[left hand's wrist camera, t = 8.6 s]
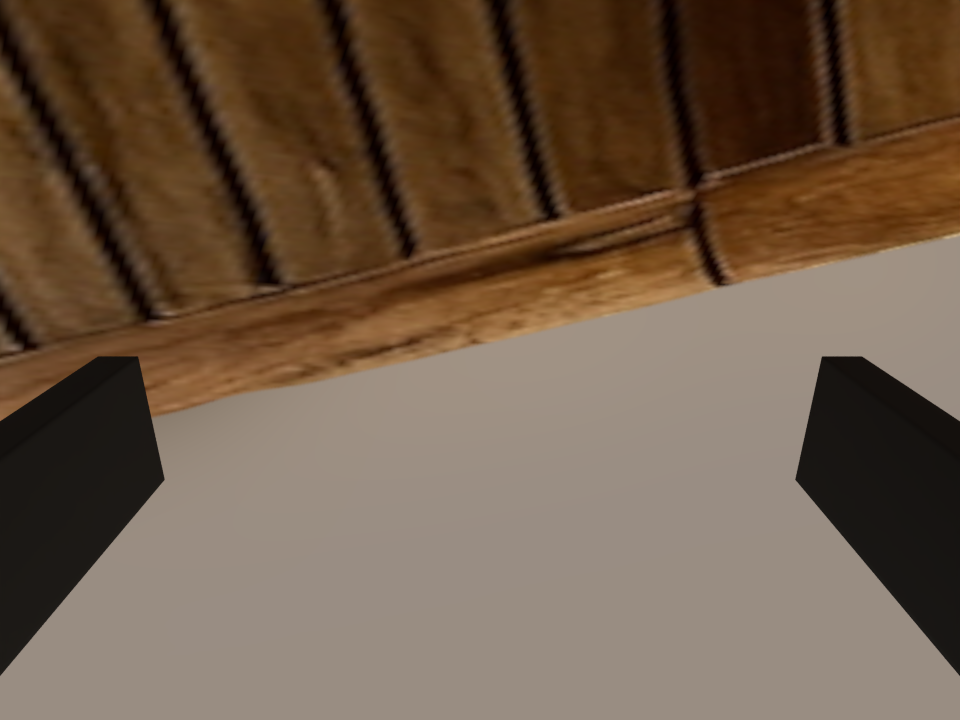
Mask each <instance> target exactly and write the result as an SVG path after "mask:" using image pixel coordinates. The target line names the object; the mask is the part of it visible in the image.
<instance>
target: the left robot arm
mask: <svg viewBox="0 0 960 720" xmlns="http://www.w3.org/2000/svg"><path fill="white" fill-rule="evenodd" d="M795 480H796V481H797V482H798V483H799V485H800V486H801V487H802V488H803V489H804V491H805V492H806V493H807V494H808V495H809V496H810V498H811V499H812V500H813V501H814V502H815V504H816V505H817V506H818V507H819V508H820V510H821V511H822V512H823V513H824V514H825V516H826V517H827V518H828V519H829V520H830V522H831V523H832V524H833V525H834V526H835V528H836V529H837V530H838V531H839V532H840V533H841V535H842V536H843V537H844V538H845V539H846V541H847V542H848V543H849V544H850V545H851V547H852V548H853V549H854V550H855V551H856V553H857V554H858V555H859V556H860V557H861V559H862V560H863V561H864V562H865V563H866V565H867V566H868V567H869V568H870V569H871V570H872V572H873V573H874V574H875V575H876V576H877V578H878V579H879V580H880V581H881V582H882V584H883V585H884V586H885V587H886V588H887V590H888V591H889V592H890V593H891V594H892V596H893V597H894V598H895V599H896V600H897V601H898V603H899V604H900V605H901V606H902V607H903V609H904V610H905V611H906V612H907V613H908V615H909V616H910V617H911V618H912V619H913V621H914V622H915V623H916V624H917V625H918V627H919V628H920V629H921V630H922V631H923V632H924V634H925V635H926V636H927V637H928V638H929V640H930V641H931V642H932V643H933V644H934V646H935V647H936V648H937V649H938V650H939V652H940V653H941V654H942V655H943V656H944V658H945V659H946V660H947V661H948V662H949V664H950V665H951V666H952V667H953V668H954V669H955V671H956V672H957V673H958V674H959V675H960V421H958V420H957V419H955V418H954V417H952V416H951V415H949V414H948V413H946V412H945V411H943V410H942V409H940V408H939V407H937V406H936V405H934V404H933V403H931V402H930V401H928V400H927V399H925V398H924V397H922V396H921V395H919V394H918V393H916V392H915V391H913V390H912V389H910V388H909V387H907V386H906V385H904V384H903V383H901V382H900V381H898V380H897V379H895V378H894V377H892V376H890V375H889V374H888V373H886V372H885V371H883V370H881V369H880V368H879V367H877V366H875V365H874V364H872V363H871V362H869V361H868V360H866V359H865V358H863V357H822V359H821V364H820V368H819V373H818V377H817V382H816V387H815V391H814V396H813V400H812V405H811V410H810V415H809V419H808V424H807V428H806V433H805V438H804V442H803V447H802V451H801V456H800V461H799V465H798V470H797V474H796V479H795ZM163 481H164V475H163V470H162V465H161V461H160V456H159V452H158V447H157V442H156V438H155V433H154V428H153V424H152V419H151V414H150V410H149V405H148V400H147V396H146V391H145V387H144V382H143V377H142V373H141V368H140V363H139V359H138V357H97V358H95V359H94V360H92V361H91V362H89V363H88V364H86V365H85V366H83V367H81V368H80V369H78V370H77V371H75V372H74V373H72V374H71V375H69V376H68V377H66V378H65V379H63V380H62V381H60V382H59V383H57V384H56V385H54V386H53V387H51V388H50V389H48V390H47V391H45V392H44V393H42V394H41V395H39V396H38V397H36V398H35V399H33V400H32V401H30V402H29V403H27V404H26V405H24V406H23V407H21V408H20V409H18V410H17V411H15V412H14V413H12V414H11V415H9V416H8V417H6V418H5V419H3V420H1V421H0V675H1V674H2V673H3V672H4V671H5V669H6V668H7V667H8V666H9V665H10V663H11V662H12V661H13V660H14V659H15V658H16V656H17V655H18V654H19V653H20V652H21V650H22V649H23V648H24V647H25V646H26V644H27V643H28V642H29V641H30V640H31V638H32V637H33V636H34V635H35V634H36V632H37V631H38V630H39V629H40V628H41V627H42V625H43V624H44V623H45V622H46V621H47V619H48V618H49V617H50V616H51V615H52V613H53V612H54V611H55V610H56V609H57V607H58V606H59V605H60V604H61V603H62V601H63V600H64V599H65V598H66V597H67V595H68V594H69V593H70V592H71V591H72V590H73V588H74V587H75V586H76V585H77V584H78V582H79V581H80V580H81V579H82V578H83V576H84V575H85V574H86V573H87V572H88V570H89V569H90V568H91V567H92V566H93V564H94V563H95V562H96V561H97V560H98V558H99V557H100V556H101V555H102V554H103V552H104V551H105V550H106V549H107V548H108V547H109V545H110V544H111V543H112V542H113V541H114V539H115V538H116V537H117V536H118V535H119V533H120V532H121V531H122V530H123V529H124V528H125V526H126V525H127V524H128V523H129V522H130V520H131V519H132V518H133V517H134V516H135V514H136V513H137V512H138V511H139V510H140V508H141V507H142V506H143V505H144V504H145V502H146V501H147V500H148V499H149V498H150V496H151V495H152V494H153V493H154V492H155V490H156V489H157V488H158V487H159V486H160V485H161V483H162V482H163Z"/></svg>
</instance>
